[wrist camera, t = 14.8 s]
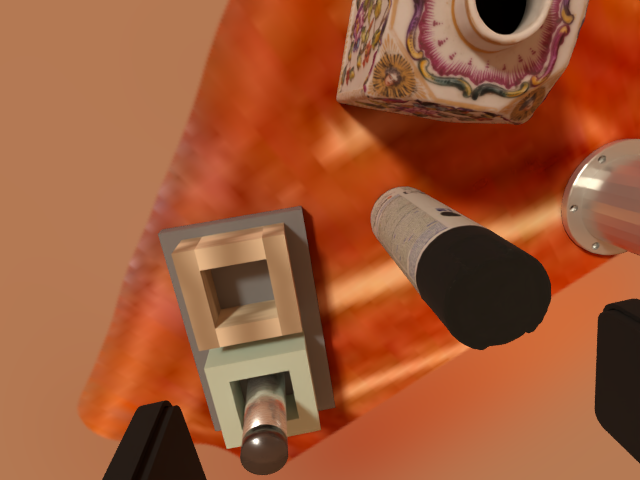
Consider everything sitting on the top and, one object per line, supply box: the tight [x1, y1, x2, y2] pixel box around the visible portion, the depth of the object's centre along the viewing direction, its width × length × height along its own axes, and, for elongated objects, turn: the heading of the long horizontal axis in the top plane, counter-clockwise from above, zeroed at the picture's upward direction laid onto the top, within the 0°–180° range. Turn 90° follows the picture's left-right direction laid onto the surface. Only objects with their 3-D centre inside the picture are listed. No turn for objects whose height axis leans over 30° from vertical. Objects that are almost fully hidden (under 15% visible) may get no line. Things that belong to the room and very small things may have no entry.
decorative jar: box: [337, 0, 589, 125], centre depth 29 cm, size 12×12×18 cm
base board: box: [158, 206, 335, 431], centre depth 43 cm, size 14×24×2 cm, turn 9°
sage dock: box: [204, 329, 321, 449], centre depth 42 cm, size 10×10×4 cm
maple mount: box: [171, 223, 303, 351], centre depth 39 cm, size 10×10×4 cm
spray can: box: [371, 187, 551, 350], centre depth 32 cm, size 7×7×20 cm
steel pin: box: [240, 371, 288, 475], centre depth 39 cm, size 4×4×11 cm
